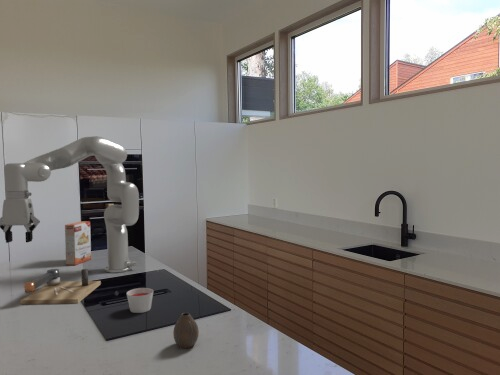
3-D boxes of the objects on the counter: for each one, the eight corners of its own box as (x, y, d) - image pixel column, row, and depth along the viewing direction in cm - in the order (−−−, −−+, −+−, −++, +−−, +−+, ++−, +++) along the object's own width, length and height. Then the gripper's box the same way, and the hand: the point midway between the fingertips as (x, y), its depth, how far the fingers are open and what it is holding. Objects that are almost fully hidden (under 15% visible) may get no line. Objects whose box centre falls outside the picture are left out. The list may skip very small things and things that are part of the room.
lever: (50, 276, 166) (50, 268, 166) (60, 276, 166) (60, 268, 166) (21, 292, 145) (20, 284, 144) (33, 292, 145) (33, 284, 144)
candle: (158, 306, 141) (158, 289, 141) (144, 315, 132) (143, 297, 132) (137, 304, 144) (136, 287, 144) (121, 312, 135) (121, 294, 135)
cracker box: (76, 265, 202) (74, 224, 201) (65, 265, 203) (63, 224, 202) (92, 259, 216) (90, 220, 214) (82, 258, 217) (80, 220, 216)
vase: (175, 340, 114) (174, 310, 113) (199, 338, 114) (198, 309, 114) (172, 351, 107) (171, 319, 106) (198, 350, 107) (197, 318, 107)
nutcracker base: (100, 284, 169) (99, 265, 168) (78, 303, 146) (77, 281, 145) (51, 285, 168) (50, 266, 168) (20, 304, 145) (19, 282, 145)
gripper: (44, 194, 155) (46, 239, 156) (0, 195, 155) (2, 240, 156) (34, 196, 148) (36, 243, 149) (-13, 196, 147) (-10, 244, 148)
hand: (19, 241), depth 152 cm, fingers open, 6 cm apart
